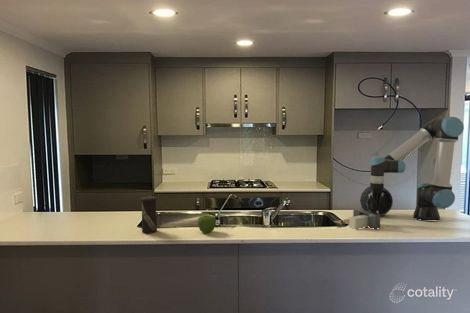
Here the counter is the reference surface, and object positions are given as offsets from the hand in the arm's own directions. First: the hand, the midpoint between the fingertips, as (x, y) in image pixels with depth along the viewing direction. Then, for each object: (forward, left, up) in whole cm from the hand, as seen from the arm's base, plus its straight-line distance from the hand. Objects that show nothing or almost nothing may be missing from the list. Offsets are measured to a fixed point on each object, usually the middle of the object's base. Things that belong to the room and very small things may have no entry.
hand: (375, 221), depth 221 cm
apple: (+97, -32, -2) cm, 102 cm away
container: (+125, -49, -2) cm, 134 cm away
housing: (+8, 0, -2) cm, 9 cm away
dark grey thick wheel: (-18, -16, -2) cm, 24 cm away
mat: (+8, -12, -2) cm, 14 cm away
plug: (+11, +1, -2) cm, 11 cm away
